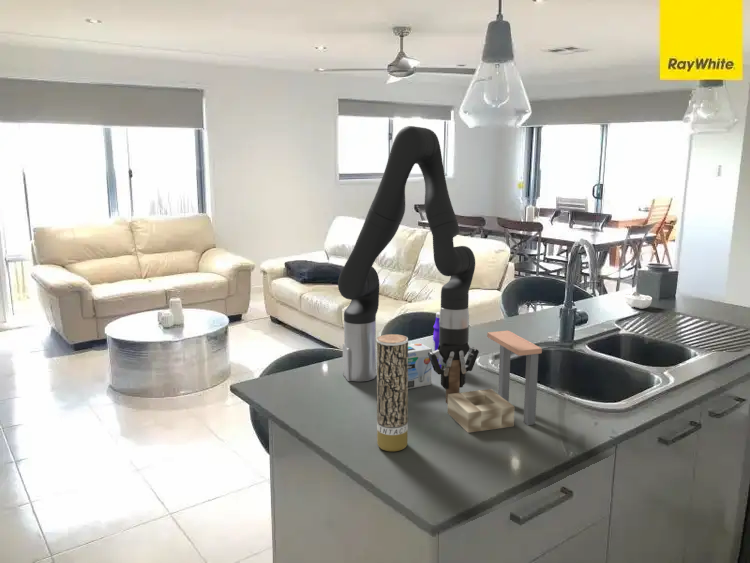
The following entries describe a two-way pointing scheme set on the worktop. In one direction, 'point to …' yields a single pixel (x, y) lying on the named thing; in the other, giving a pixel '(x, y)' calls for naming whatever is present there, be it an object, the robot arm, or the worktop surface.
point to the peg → (453, 379)
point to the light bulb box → (419, 365)
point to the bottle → (436, 337)
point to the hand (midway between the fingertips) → (452, 387)
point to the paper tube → (392, 392)
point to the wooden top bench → (531, 351)
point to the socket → (480, 410)
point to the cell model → (638, 300)
